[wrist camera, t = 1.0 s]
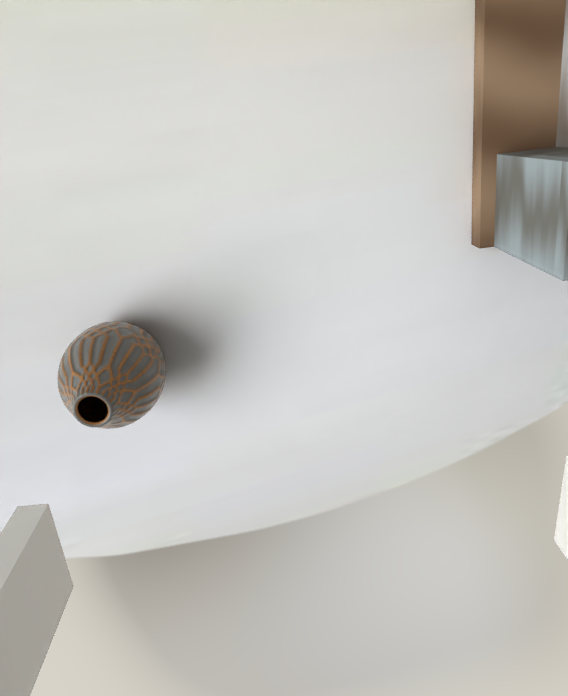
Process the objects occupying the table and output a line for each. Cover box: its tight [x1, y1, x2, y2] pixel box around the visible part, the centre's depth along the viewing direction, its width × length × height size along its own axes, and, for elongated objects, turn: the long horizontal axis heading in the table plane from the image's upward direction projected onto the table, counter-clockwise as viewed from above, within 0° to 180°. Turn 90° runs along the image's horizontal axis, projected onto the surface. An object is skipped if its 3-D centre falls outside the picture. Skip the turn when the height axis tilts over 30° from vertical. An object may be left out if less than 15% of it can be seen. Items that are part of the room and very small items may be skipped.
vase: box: [58, 322, 166, 428], centre depth 36 cm, size 7×7×9 cm
